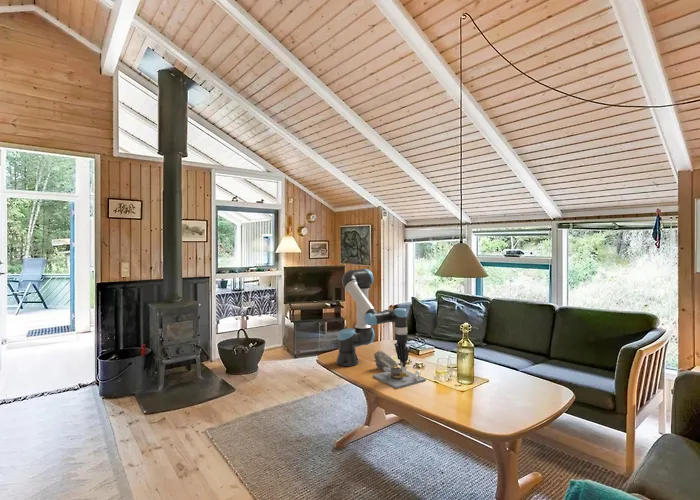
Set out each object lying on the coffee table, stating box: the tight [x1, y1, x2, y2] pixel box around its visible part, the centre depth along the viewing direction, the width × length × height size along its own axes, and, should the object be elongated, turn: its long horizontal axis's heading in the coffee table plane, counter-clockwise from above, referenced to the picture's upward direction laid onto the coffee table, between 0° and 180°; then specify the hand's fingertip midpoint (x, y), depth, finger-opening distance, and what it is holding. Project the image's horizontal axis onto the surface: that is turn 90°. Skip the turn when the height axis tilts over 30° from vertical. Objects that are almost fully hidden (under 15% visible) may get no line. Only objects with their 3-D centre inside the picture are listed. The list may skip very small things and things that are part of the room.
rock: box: [373, 350, 398, 371], centre depth 256 cm, size 12×8×15 cm, turn 36°
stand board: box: [372, 369, 427, 390], centre depth 237 cm, size 24×22×6 cm
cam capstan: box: [382, 365, 409, 379], centre depth 237 cm, size 19×19×6 cm
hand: (403, 371), depth 240 cm, fingers closed
